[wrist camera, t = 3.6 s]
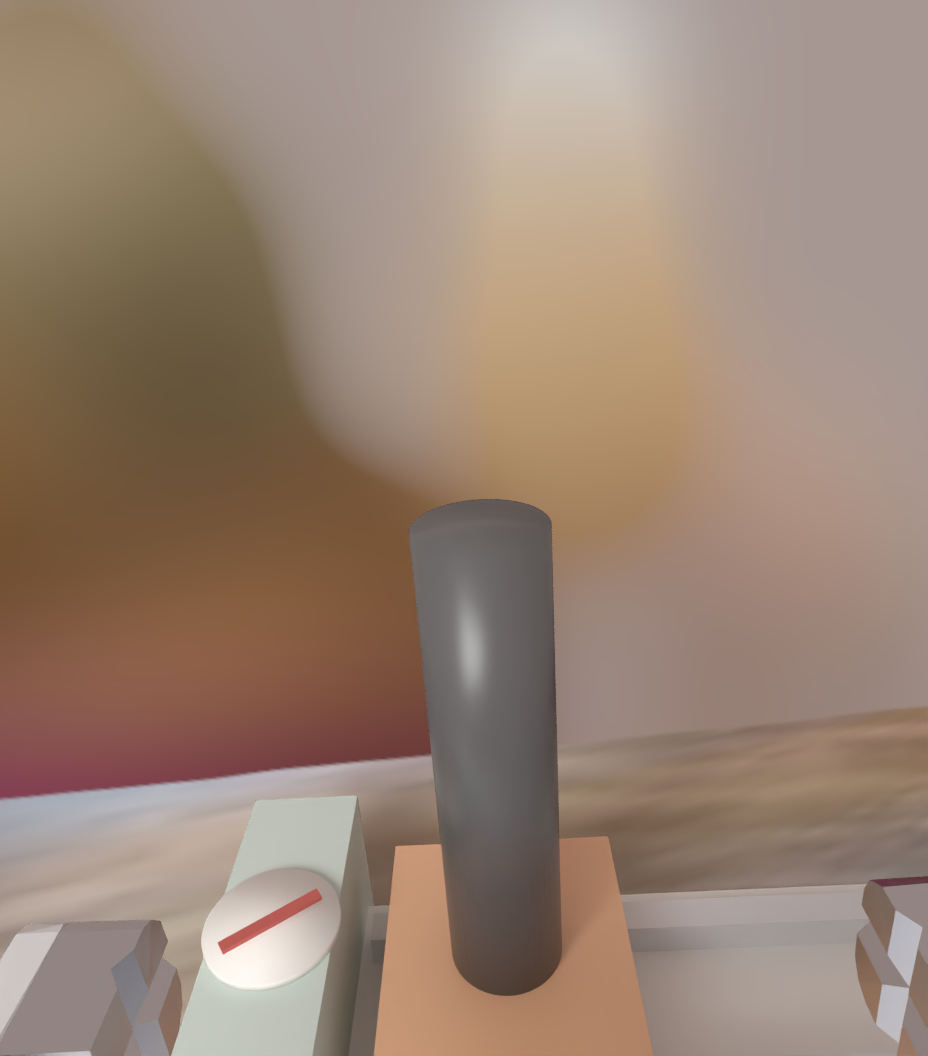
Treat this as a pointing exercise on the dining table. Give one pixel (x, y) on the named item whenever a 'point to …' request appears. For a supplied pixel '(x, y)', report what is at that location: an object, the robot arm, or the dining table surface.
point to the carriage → (500, 823)
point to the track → (653, 927)
